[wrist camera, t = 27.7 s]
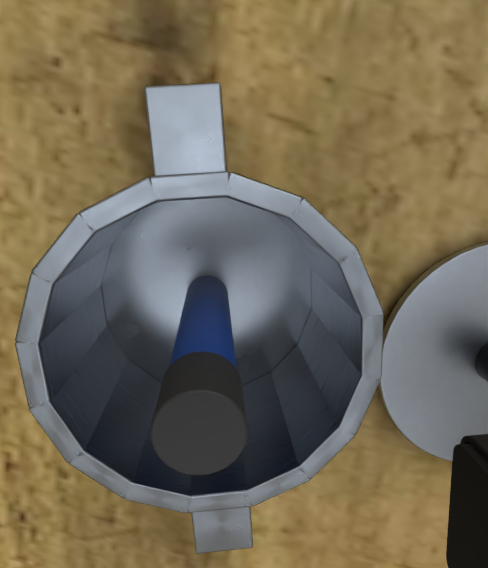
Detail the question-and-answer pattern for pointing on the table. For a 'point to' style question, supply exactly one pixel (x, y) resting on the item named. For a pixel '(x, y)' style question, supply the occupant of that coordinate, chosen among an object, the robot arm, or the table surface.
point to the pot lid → (440, 354)
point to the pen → (201, 388)
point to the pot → (167, 313)
